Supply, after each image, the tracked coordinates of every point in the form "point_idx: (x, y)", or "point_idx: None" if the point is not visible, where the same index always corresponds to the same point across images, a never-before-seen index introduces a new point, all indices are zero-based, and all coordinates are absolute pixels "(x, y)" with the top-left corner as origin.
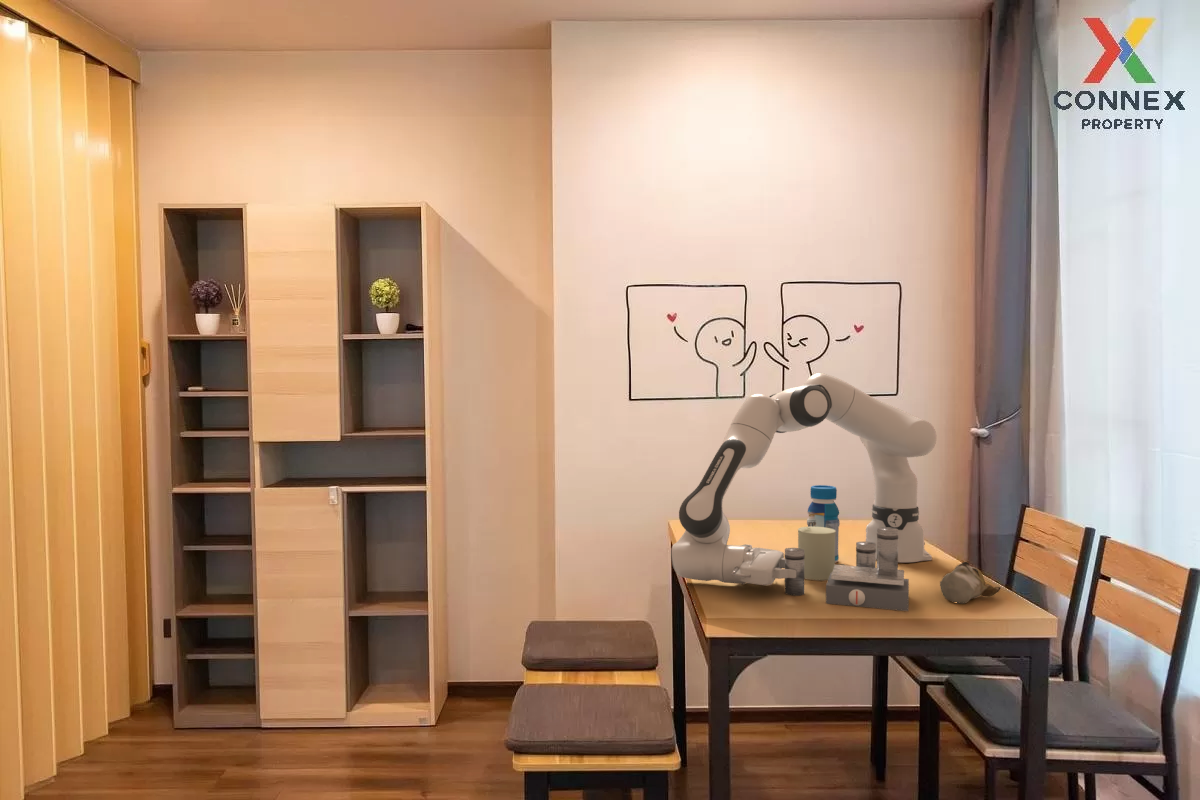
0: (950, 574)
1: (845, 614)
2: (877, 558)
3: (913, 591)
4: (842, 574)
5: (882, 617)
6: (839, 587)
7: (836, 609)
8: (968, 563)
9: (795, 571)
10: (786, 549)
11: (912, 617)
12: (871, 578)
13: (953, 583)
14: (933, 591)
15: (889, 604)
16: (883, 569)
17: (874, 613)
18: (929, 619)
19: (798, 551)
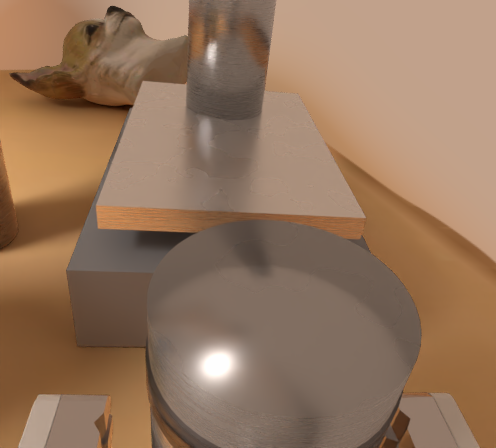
0: (186, 43)
1: (457, 284)
2: (247, 53)
3: (60, 151)
4: (326, 187)
5: (399, 212)
6: (363, 241)
7: (419, 310)
8: (119, 8)
9: (448, 395)
10: (326, 388)
11: (346, 170)
12: (319, 134)
13: (186, 65)
14: (53, 127)
15: None
16: (264, 88)
17: (374, 224)
18: (338, 153)
19: (364, 256)
